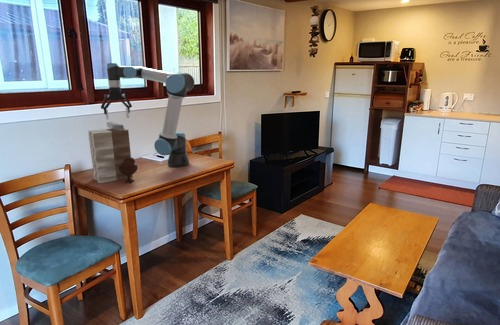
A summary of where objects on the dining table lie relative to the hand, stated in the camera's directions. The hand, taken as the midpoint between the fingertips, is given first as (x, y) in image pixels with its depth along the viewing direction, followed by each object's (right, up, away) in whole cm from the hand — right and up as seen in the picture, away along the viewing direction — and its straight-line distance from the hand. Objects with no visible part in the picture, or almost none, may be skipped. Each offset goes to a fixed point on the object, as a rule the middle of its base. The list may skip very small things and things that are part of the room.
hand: (117, 118), depth 236 cm
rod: (+7, -9, -23) cm, 25 cm away
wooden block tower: (+6, -40, -21) cm, 46 cm away
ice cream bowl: (+18, -42, -29) cm, 54 cm away
